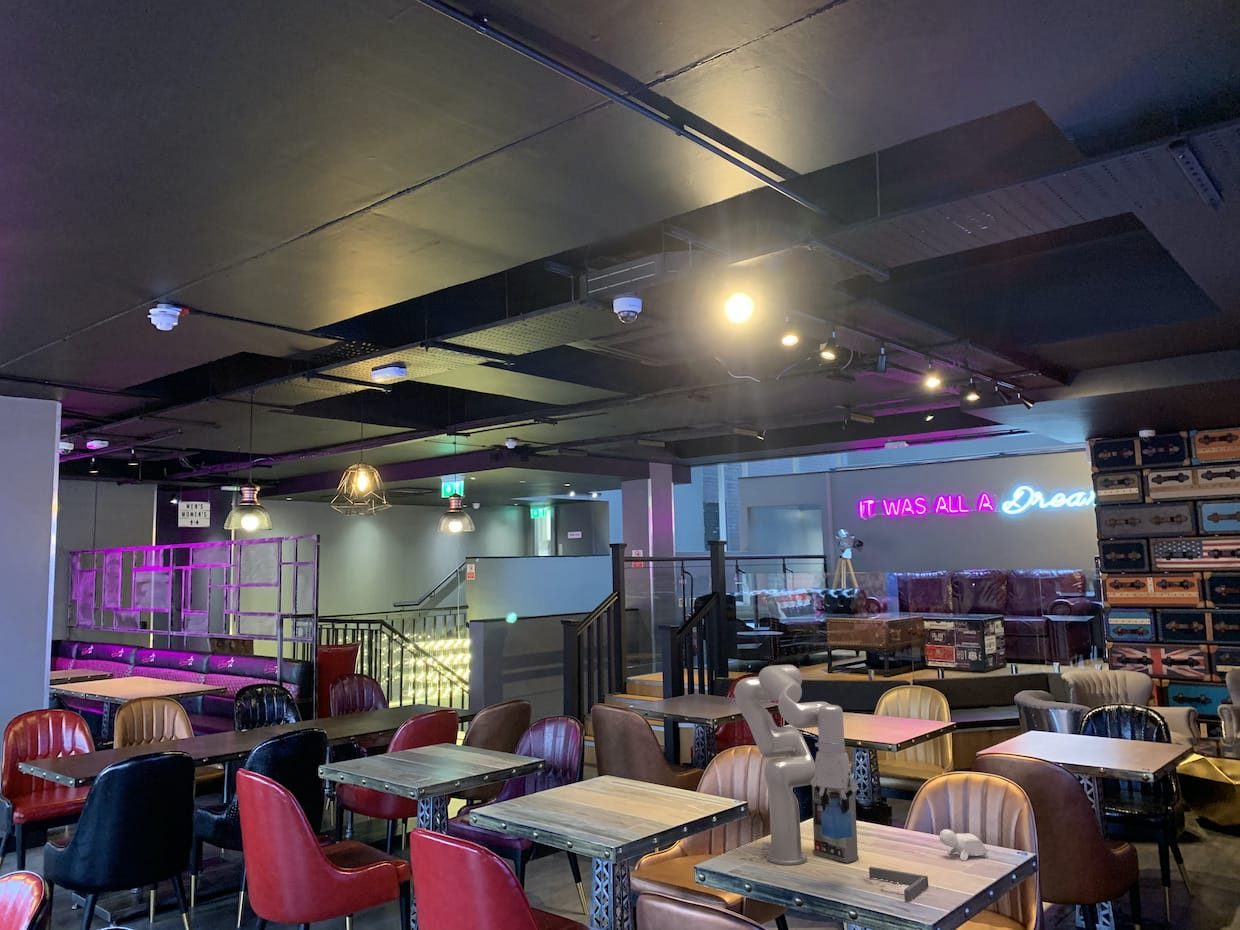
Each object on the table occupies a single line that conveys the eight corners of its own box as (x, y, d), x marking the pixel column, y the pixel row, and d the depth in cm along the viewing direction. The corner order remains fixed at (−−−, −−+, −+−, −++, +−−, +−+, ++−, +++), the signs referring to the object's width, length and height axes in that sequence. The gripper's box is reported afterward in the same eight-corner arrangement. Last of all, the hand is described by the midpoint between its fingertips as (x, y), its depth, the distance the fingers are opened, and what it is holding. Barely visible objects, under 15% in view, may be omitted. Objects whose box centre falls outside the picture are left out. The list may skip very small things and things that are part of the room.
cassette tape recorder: (812, 854, 287) (809, 774, 291) (824, 851, 290) (821, 772, 295) (846, 863, 276) (842, 780, 280) (858, 860, 279) (855, 778, 284)
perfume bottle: (834, 839, 255) (831, 796, 256) (821, 834, 260) (819, 792, 262) (852, 836, 257) (849, 794, 259) (839, 831, 263) (836, 789, 264)
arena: (850, 891, 251) (849, 879, 251) (871, 877, 263) (870, 866, 263) (909, 902, 240) (908, 890, 241) (928, 887, 252) (927, 876, 252)
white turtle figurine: (970, 861, 285) (930, 847, 283) (976, 835, 286) (937, 821, 284) (986, 869, 276) (945, 854, 274) (993, 842, 278) (952, 827, 276)
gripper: (800, 747, 265) (803, 809, 262) (853, 752, 254) (857, 817, 252) (811, 743, 270) (814, 804, 268) (864, 748, 260) (868, 812, 257)
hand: (835, 810), depth 260 cm, fingers closed on perfume bottle, 5 cm apart
